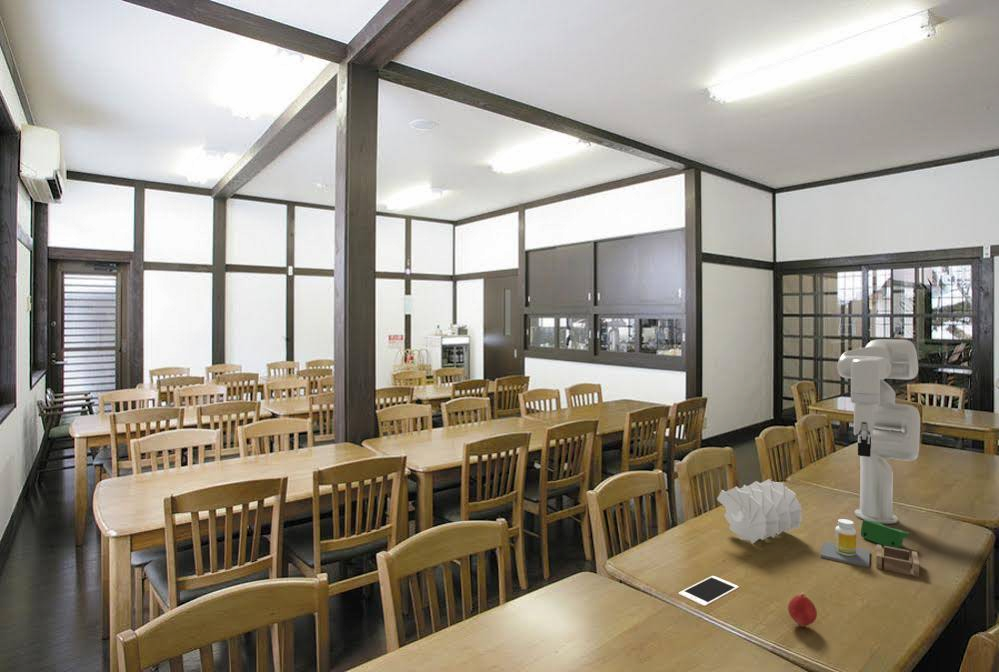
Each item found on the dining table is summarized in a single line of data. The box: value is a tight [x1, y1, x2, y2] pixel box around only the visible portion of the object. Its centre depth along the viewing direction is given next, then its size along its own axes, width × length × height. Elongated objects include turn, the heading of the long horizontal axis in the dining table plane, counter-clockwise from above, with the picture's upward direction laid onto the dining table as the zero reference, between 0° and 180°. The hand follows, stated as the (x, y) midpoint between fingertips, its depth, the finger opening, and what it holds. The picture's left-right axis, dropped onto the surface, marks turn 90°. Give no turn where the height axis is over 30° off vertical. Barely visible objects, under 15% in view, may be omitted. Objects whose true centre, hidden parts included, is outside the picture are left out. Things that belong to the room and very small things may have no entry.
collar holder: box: [875, 543, 920, 578], centre depth 154 cm, size 10×10×4 cm
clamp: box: [860, 519, 910, 549], centre depth 171 cm, size 12×6×9 cm, turn 19°
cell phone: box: [678, 575, 740, 607], centre depth 141 cm, size 8×16×1 cm, turn 126°
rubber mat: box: [820, 540, 871, 569], centre depth 162 cm, size 12×12×1 cm
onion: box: [787, 592, 818, 628], centre depth 125 cm, size 6×6×8 cm
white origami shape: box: [716, 478, 803, 545], centre depth 176 cm, size 18×18×25 cm
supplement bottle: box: [834, 518, 857, 556], centre depth 161 cm, size 5×5×10 cm
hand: (864, 452), depth 168 cm, fingers open, 9 cm apart
